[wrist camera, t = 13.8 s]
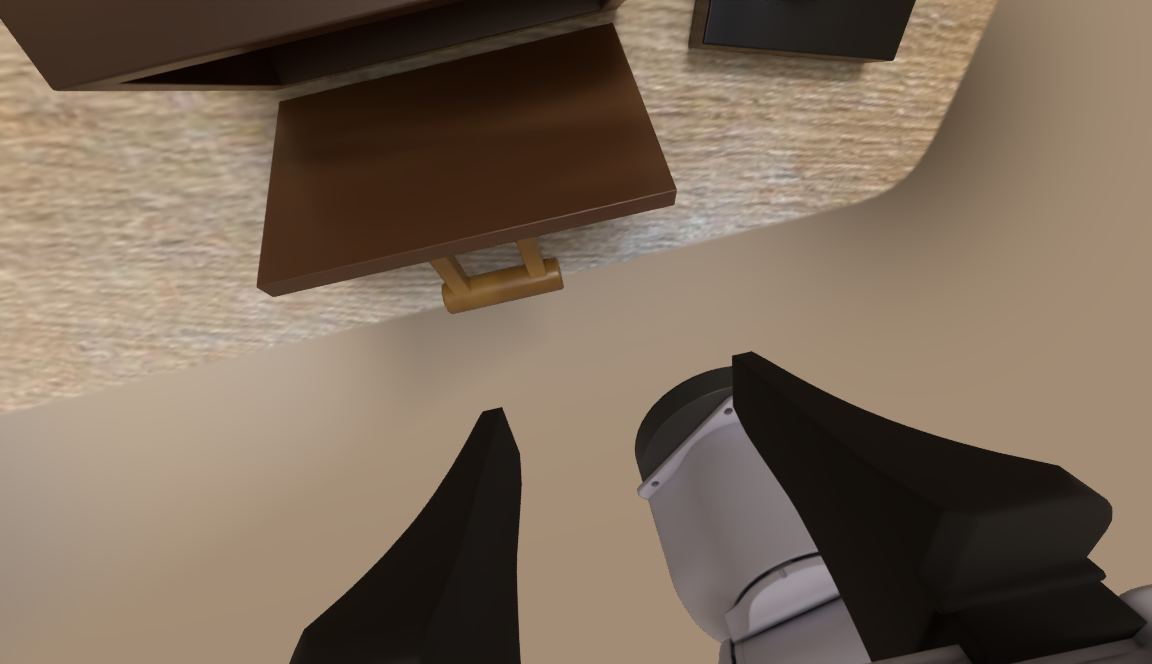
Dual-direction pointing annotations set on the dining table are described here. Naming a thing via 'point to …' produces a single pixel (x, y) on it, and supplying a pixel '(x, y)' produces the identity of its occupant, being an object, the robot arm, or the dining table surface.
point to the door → (460, 168)
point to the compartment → (254, 38)
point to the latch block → (803, 28)
